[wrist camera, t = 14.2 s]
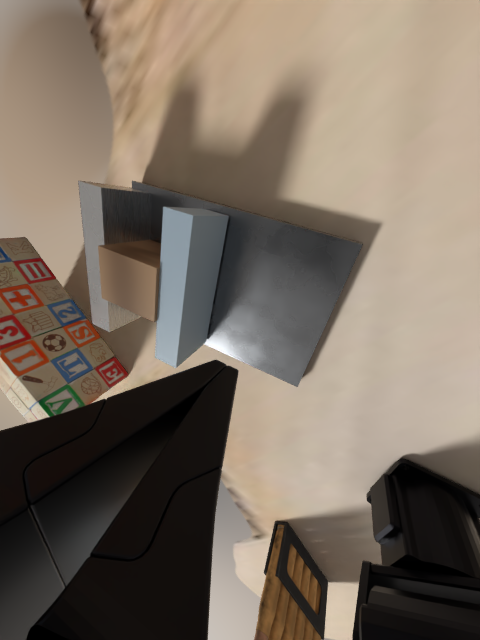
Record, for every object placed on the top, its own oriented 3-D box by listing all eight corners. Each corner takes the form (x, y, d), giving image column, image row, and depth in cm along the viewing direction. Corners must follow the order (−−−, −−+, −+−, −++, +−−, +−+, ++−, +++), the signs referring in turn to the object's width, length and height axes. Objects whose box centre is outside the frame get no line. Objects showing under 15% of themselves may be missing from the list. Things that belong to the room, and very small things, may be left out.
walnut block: (199, 256, 19) (156, 268, 15) (193, 301, 21) (154, 322, 17) (150, 239, 20) (97, 245, 16) (148, 282, 22) (101, 298, 18)
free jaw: (228, 215, 17) (192, 215, 13) (206, 341, 22) (175, 368, 18) (204, 209, 17) (163, 206, 13) (188, 333, 22) (155, 357, 19)
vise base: (362, 243, 15) (367, 254, 10) (299, 380, 21) (285, 426, 16) (141, 182, 20) (77, 171, 15) (139, 308, 25) (92, 328, 21)
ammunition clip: (328, 582, 31) (318, 762, 20) (315, 579, 32) (299, 750, 21) (287, 521, 29) (254, 682, 19) (274, 520, 30) (237, 673, 20)
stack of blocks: (131, 374, 31) (21, 454, 21) (111, 387, 34) (7, 462, 24) (25, 235, 29) (-157, 246, 18) (14, 264, 32) (-145, 287, 22)
